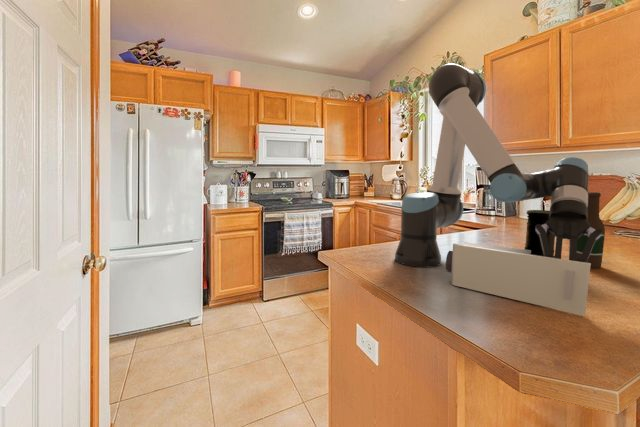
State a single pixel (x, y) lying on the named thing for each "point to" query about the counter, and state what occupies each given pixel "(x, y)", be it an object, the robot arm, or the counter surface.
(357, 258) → the counter surface
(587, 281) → the side door
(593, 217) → the beer bottle
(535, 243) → the container
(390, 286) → the counter surface
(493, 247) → the camera case
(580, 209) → the robot arm
